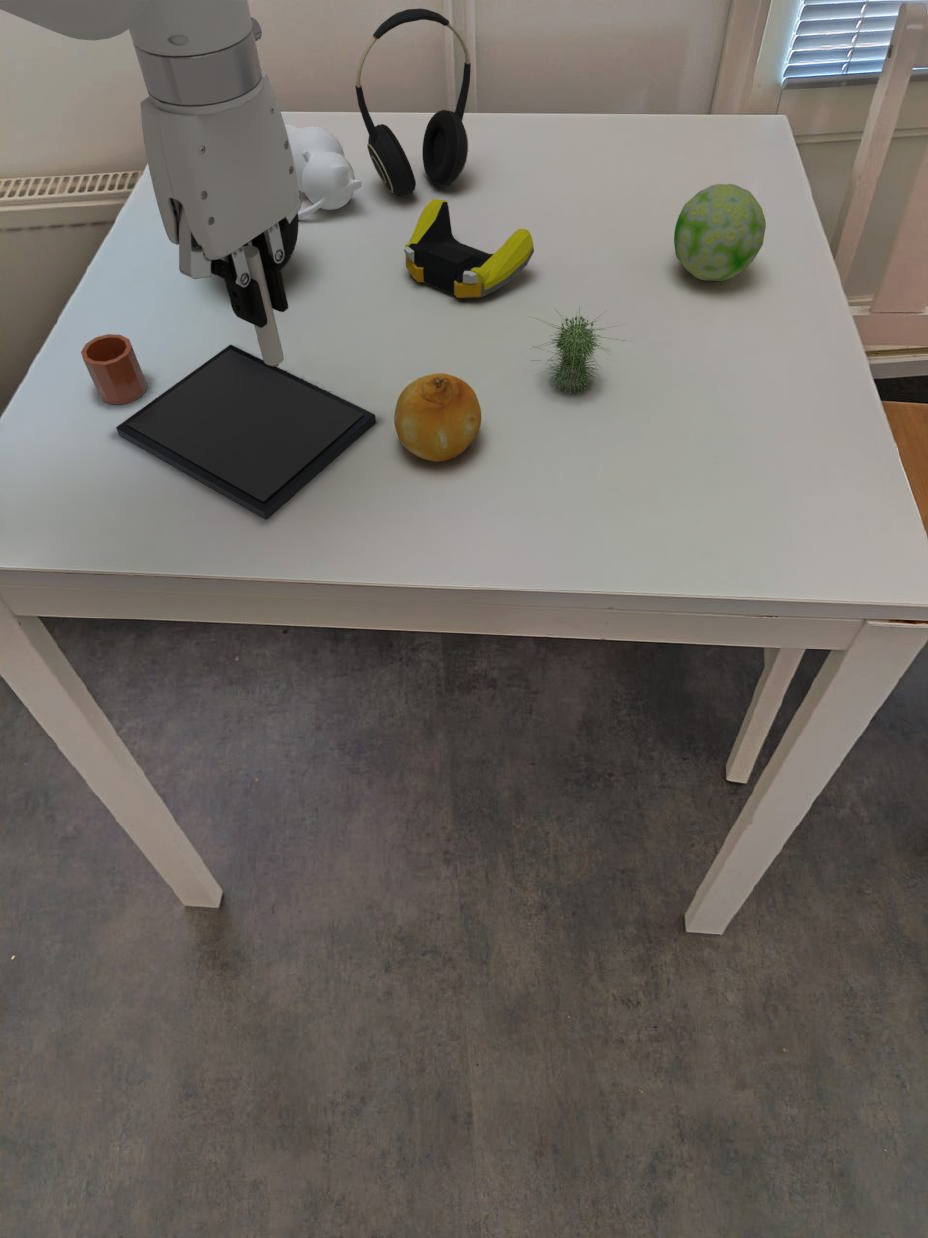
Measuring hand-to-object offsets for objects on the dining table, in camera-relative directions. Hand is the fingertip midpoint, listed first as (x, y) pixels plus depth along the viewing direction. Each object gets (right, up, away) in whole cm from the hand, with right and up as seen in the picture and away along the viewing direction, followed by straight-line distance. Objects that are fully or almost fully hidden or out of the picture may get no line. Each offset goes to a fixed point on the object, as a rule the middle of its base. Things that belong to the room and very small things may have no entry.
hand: (262, 311), depth 70 cm
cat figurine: (-2, +29, +40) cm, 49 cm away
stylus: (0, -3, +4) cm, 5 cm away
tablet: (-5, -6, +14) cm, 17 cm away
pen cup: (-19, -1, +18) cm, 26 cm away
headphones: (+11, +31, +42) cm, 53 cm away
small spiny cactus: (+28, -1, +18) cm, 33 cm away
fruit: (+14, -8, +13) cm, 21 cm away
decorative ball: (+45, +15, +29) cm, 56 cm away
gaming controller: (+16, +15, +30) cm, 37 cm away
